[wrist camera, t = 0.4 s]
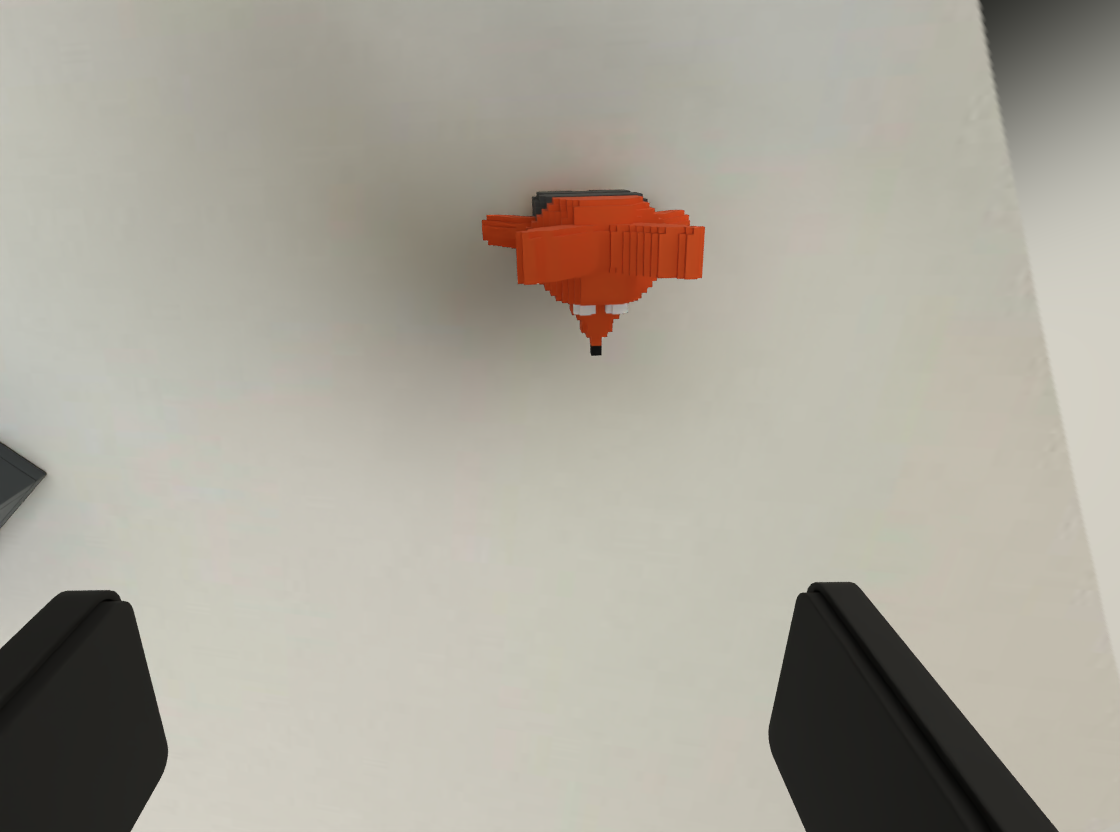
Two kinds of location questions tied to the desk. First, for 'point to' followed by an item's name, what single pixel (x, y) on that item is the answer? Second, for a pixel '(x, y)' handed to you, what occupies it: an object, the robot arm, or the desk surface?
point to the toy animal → (598, 251)
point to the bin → (15, 481)
